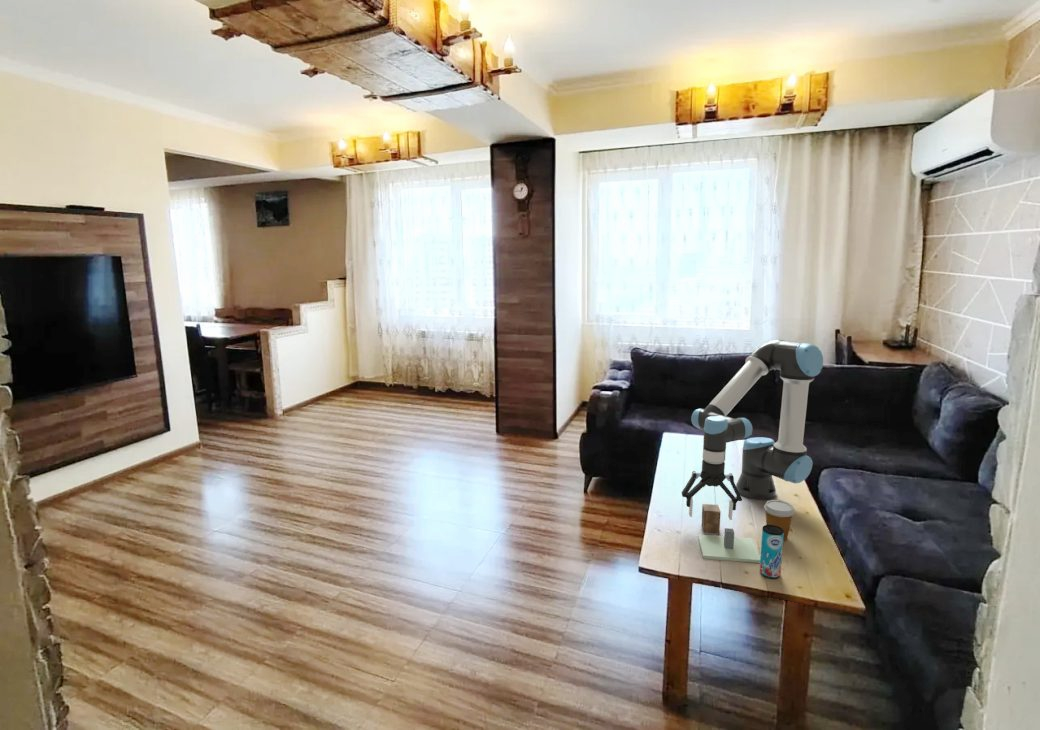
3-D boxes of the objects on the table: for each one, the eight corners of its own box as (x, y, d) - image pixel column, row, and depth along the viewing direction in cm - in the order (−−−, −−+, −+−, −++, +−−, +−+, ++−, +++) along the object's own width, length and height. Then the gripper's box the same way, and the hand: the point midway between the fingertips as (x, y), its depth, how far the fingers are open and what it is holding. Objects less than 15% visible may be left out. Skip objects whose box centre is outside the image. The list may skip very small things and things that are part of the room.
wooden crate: (717, 526, 196) (718, 504, 195) (719, 534, 191) (720, 511, 189) (701, 525, 197) (702, 503, 196) (703, 532, 192) (704, 510, 191)
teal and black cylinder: (762, 578, 164) (765, 533, 161) (757, 568, 170) (760, 524, 167) (783, 580, 163) (786, 534, 160) (777, 569, 169) (780, 525, 166)
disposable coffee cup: (790, 547, 182) (793, 514, 179) (760, 539, 187) (762, 507, 184) (793, 534, 189) (796, 503, 187) (764, 528, 194) (766, 497, 192)
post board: (752, 541, 186) (753, 522, 185) (761, 563, 172) (763, 543, 171) (697, 537, 189) (698, 518, 188) (703, 558, 176) (704, 538, 175)
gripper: (748, 458, 190) (744, 514, 194) (676, 454, 195) (673, 509, 199) (753, 466, 183) (749, 524, 187) (677, 461, 188) (675, 518, 192)
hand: (710, 516), depth 193 cm, fingers open, 13 cm apart
